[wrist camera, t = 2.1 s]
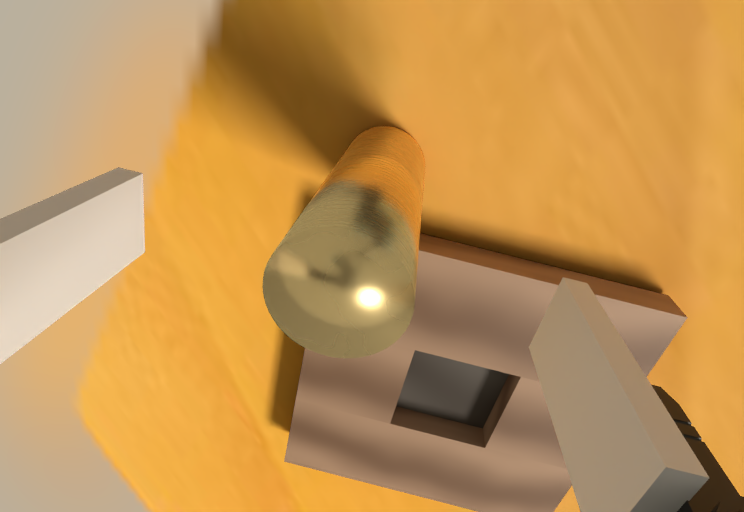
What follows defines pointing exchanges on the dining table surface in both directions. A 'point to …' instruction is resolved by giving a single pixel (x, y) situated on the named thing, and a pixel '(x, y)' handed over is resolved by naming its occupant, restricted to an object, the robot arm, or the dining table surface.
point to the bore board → (461, 385)
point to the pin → (353, 251)
